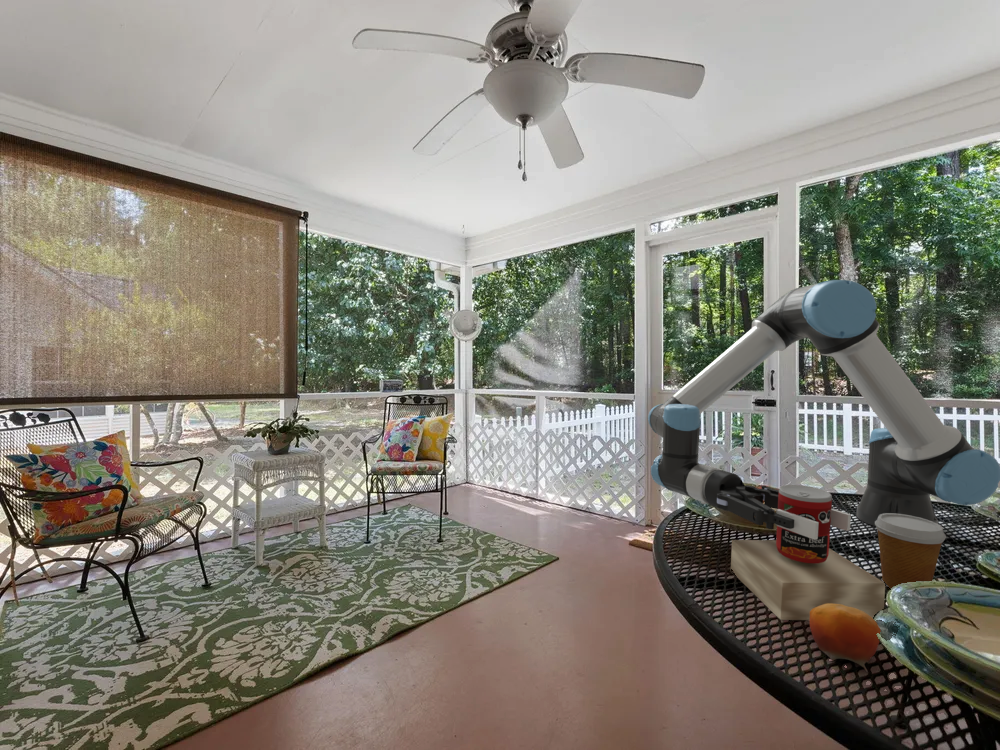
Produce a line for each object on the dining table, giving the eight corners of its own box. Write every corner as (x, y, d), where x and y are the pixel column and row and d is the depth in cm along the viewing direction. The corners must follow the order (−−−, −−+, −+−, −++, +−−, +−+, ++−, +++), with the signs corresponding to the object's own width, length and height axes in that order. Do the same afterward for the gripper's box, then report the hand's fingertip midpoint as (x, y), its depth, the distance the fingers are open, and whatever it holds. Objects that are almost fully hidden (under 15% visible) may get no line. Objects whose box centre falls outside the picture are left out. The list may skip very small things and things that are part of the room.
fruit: (820, 662, 62) (815, 596, 66) (806, 660, 69) (802, 600, 72) (896, 678, 60) (887, 608, 63) (874, 675, 66) (867, 611, 70)
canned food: (776, 558, 80) (779, 494, 80) (774, 541, 87) (777, 481, 87) (831, 568, 77) (835, 501, 76) (825, 550, 84) (828, 488, 83)
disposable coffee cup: (922, 607, 78) (927, 536, 78) (859, 581, 87) (863, 516, 86) (953, 595, 82) (958, 527, 81) (890, 571, 91) (894, 509, 90)
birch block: (815, 571, 91) (816, 540, 90) (882, 620, 75) (885, 583, 74) (730, 570, 90) (732, 539, 90) (780, 619, 75) (782, 582, 74)
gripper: (749, 498, 103) (868, 538, 82) (677, 512, 94) (790, 561, 73) (751, 464, 102) (871, 495, 81) (678, 474, 93) (793, 513, 73)
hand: (833, 526), depth 77 cm, fingers closed on canned food, 8 cm apart
